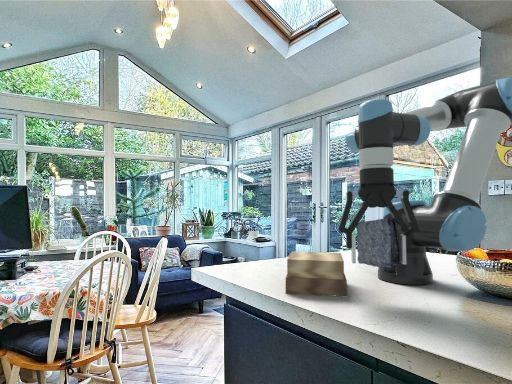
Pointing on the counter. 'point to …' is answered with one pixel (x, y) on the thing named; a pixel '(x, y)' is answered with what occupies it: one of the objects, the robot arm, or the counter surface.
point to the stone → (378, 243)
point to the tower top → (315, 265)
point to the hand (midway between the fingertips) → (378, 262)
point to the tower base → (316, 286)
